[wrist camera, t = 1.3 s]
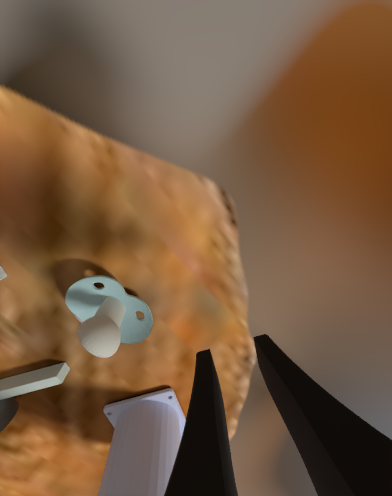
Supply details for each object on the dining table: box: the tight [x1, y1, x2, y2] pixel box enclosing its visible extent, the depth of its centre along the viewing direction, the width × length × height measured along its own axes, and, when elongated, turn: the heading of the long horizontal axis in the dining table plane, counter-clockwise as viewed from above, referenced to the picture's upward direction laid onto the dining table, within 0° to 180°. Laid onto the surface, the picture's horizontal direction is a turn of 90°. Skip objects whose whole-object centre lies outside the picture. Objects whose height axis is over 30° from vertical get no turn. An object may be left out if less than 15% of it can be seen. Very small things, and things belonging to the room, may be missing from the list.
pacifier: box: [65, 275, 153, 358], centre depth 15 cm, size 7×6×6 cm
